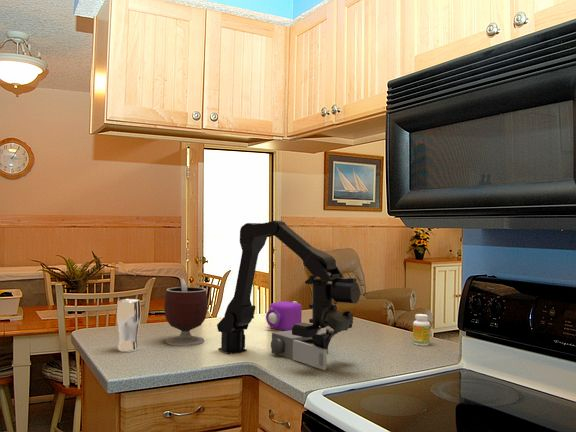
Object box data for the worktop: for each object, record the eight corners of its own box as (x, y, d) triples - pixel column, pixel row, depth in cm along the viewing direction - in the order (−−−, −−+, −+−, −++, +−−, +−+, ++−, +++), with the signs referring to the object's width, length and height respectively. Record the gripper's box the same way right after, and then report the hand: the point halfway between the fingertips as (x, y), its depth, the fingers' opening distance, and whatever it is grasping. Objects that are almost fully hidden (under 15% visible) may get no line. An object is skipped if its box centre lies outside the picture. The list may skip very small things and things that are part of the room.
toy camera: (260, 330, 204) (261, 303, 204) (278, 324, 216) (279, 298, 216) (287, 333, 199) (287, 305, 199) (303, 327, 211) (304, 301, 211)
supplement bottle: (424, 346, 183) (424, 316, 183) (409, 343, 186) (410, 314, 186) (432, 344, 187) (432, 315, 187) (418, 341, 190) (418, 312, 190)
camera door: (290, 359, 161) (291, 340, 161) (295, 358, 162) (295, 339, 162) (321, 370, 150) (322, 350, 150) (326, 369, 150) (326, 349, 150)
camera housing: (286, 360, 161) (286, 336, 161) (266, 353, 169) (266, 330, 169) (327, 353, 171) (328, 330, 171) (307, 346, 179) (307, 325, 179)
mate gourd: (210, 345, 179) (212, 282, 179) (166, 347, 174) (168, 283, 174) (201, 335, 193) (202, 277, 194) (160, 337, 189) (161, 278, 189)
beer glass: (130, 353, 166) (131, 302, 166) (111, 351, 168) (112, 301, 168) (144, 348, 172) (145, 299, 172) (125, 346, 174) (126, 298, 175)
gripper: (320, 308, 142) (320, 369, 142) (367, 300, 155) (367, 356, 155) (290, 303, 150) (290, 361, 150) (336, 295, 163) (337, 349, 163)
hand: (323, 357), depth 154 cm, fingers closed
